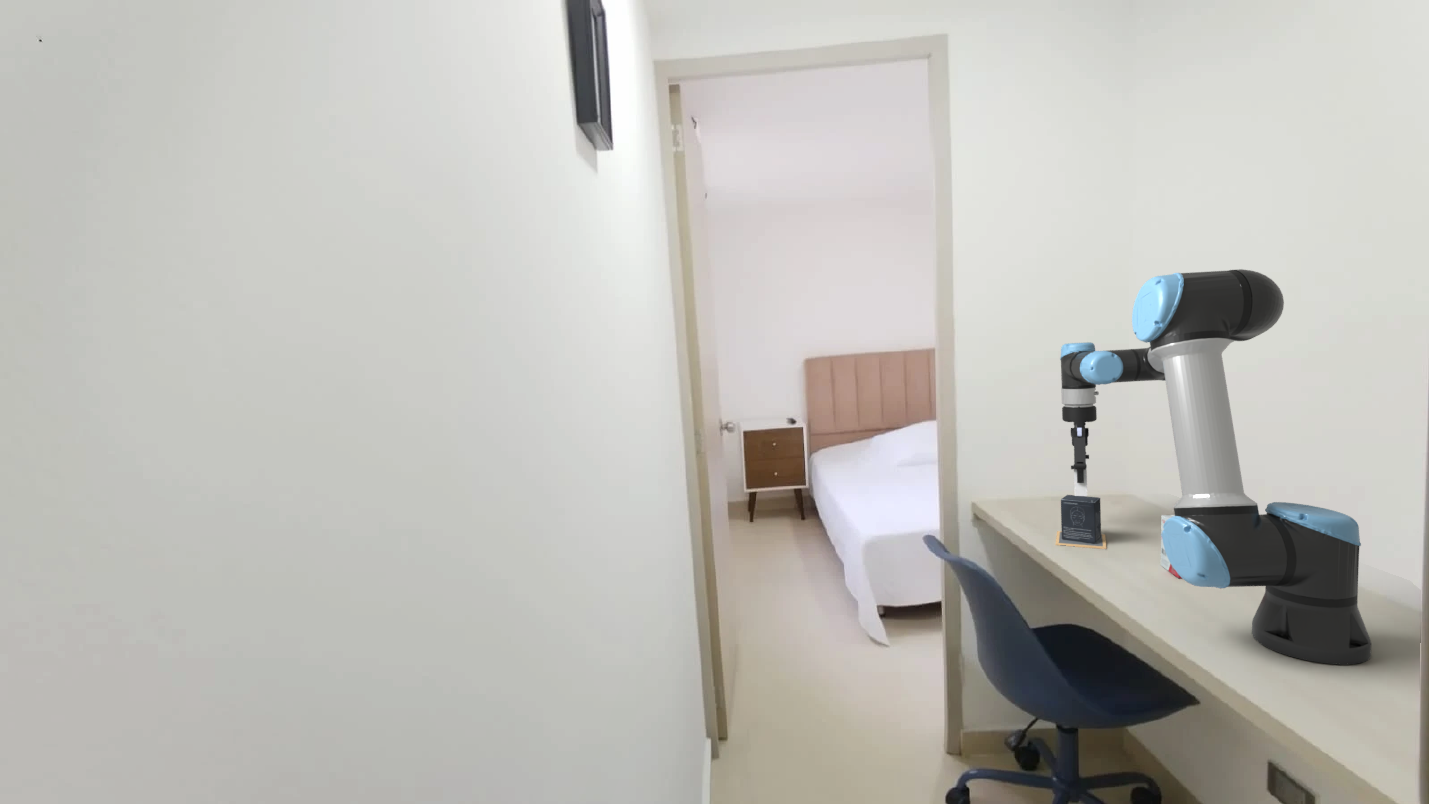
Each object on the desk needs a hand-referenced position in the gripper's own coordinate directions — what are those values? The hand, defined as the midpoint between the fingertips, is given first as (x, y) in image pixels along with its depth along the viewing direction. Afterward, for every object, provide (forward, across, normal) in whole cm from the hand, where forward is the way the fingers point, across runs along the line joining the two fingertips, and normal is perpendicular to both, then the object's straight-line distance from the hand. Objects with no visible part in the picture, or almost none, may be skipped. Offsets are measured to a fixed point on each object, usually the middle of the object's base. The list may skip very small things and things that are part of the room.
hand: (1080, 490), depth 173 cm
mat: (+13, +1, 0) cm, 13 cm away
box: (+13, +1, 0) cm, 13 cm away
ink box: (+14, -16, -21) cm, 30 cm away
